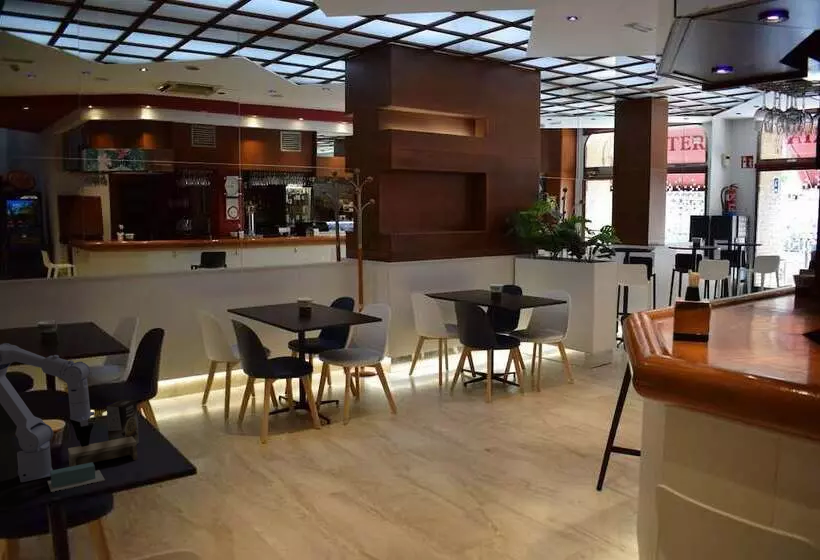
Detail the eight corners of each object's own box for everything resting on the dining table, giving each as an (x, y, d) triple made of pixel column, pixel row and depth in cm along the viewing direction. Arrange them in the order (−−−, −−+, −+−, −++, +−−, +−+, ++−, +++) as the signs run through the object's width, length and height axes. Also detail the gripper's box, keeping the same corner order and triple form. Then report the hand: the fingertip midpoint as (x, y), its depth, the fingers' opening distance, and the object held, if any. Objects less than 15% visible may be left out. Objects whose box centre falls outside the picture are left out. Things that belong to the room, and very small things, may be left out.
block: (95, 478, 215) (94, 465, 215) (52, 487, 209) (51, 474, 209) (93, 474, 219) (92, 462, 218) (51, 483, 212) (50, 470, 212)
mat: (51, 492, 206) (51, 491, 206) (47, 482, 214) (47, 480, 214) (104, 480, 214) (104, 479, 214) (99, 471, 223) (99, 469, 223)
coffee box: (124, 451, 240) (121, 406, 239) (108, 450, 242) (105, 406, 240) (140, 442, 249) (137, 399, 248) (124, 442, 251) (121, 398, 249)
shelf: (72, 473, 221) (70, 454, 221) (69, 466, 227) (67, 448, 227) (137, 459, 232) (136, 441, 232) (133, 453, 238) (131, 436, 237)
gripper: (96, 403, 214) (100, 445, 215) (89, 394, 226) (93, 434, 227) (71, 408, 210) (75, 451, 211) (65, 398, 222) (69, 439, 223)
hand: (83, 442), depth 219 cm, fingers open, 7 cm apart
